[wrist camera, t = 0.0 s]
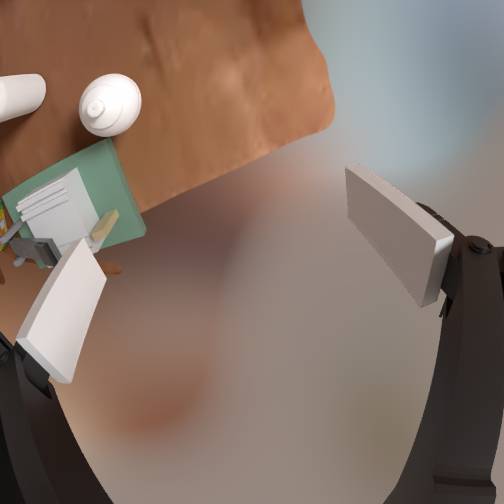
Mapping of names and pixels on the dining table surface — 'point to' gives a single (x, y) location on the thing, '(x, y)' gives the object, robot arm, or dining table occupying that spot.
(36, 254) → the strap
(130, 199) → the heatsink board
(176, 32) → the dining table surface
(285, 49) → the dining table surface
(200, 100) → the dining table surface
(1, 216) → the chalk box
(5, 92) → the can
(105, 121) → the spinning top
